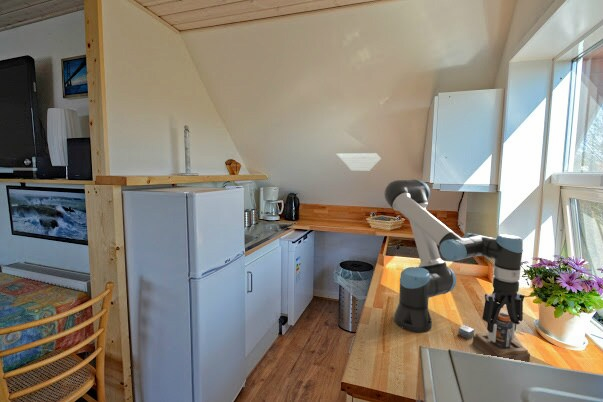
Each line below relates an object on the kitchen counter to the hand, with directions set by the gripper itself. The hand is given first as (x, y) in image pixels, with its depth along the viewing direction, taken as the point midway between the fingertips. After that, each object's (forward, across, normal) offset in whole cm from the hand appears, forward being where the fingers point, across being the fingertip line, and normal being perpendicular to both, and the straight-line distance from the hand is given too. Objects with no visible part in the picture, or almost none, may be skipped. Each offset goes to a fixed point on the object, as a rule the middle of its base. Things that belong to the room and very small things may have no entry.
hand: (500, 339), depth 102 cm
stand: (+5, 0, 0) cm, 5 cm away
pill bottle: (+2, 0, 0) cm, 2 cm away
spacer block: (+5, -5, +11) cm, 13 cm away
